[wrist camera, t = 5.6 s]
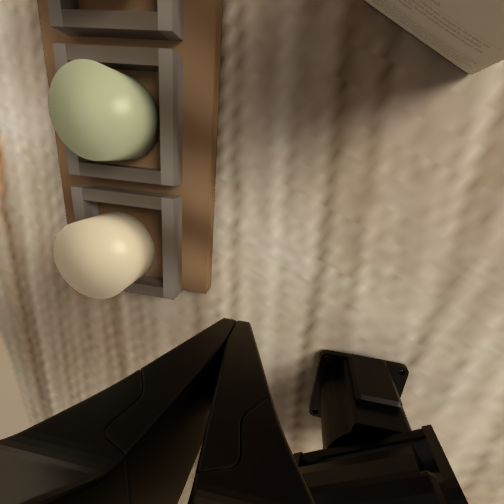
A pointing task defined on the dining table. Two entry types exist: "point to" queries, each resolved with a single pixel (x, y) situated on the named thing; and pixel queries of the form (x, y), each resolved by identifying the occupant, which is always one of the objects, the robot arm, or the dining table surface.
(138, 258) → the cream button
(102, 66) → the sage green rounded piece
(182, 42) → the brown compartment tray
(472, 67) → the supplement box
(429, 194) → the dining table surface
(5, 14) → the dining table surface
